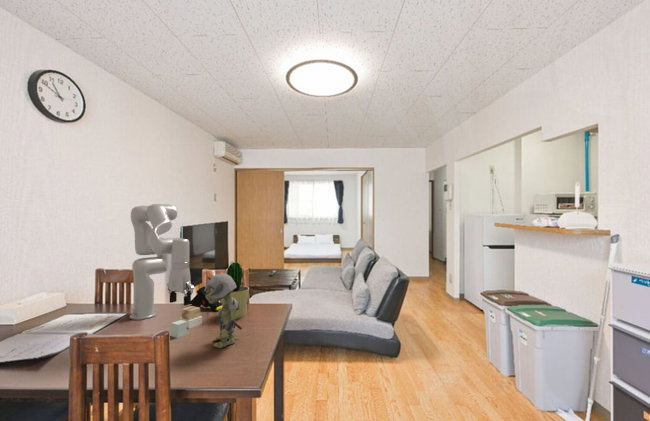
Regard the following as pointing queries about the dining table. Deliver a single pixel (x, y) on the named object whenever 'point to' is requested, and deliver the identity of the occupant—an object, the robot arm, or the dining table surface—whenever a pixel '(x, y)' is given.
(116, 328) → the dining table surface
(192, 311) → the tower top
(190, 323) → the tower base
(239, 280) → the potted cactus
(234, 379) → the dining table surface
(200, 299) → the toy gun
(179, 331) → the sage block
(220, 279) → the toy
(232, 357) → the dining table surface
